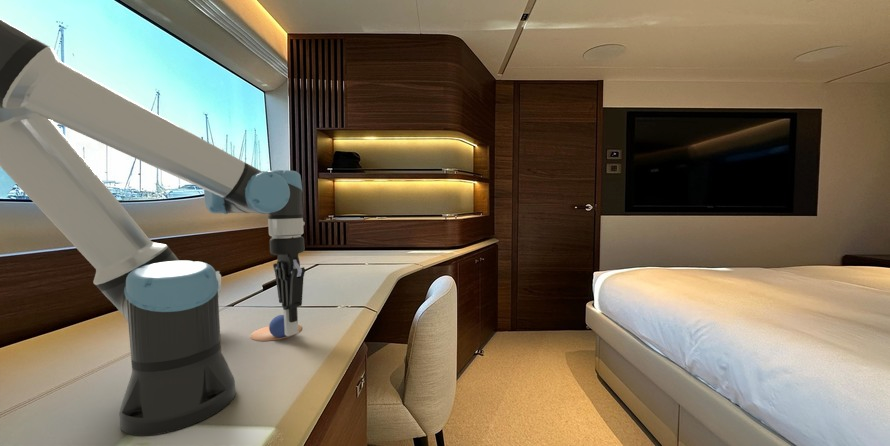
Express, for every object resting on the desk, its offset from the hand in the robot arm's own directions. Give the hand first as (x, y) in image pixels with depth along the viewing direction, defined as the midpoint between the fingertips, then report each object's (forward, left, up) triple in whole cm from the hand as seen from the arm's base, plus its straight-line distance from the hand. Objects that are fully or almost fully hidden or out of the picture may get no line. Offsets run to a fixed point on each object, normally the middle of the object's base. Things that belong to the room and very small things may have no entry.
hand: (291, 333), depth 85 cm
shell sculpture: (+17, +20, -2) cm, 26 cm away
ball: (+5, +2, +1) cm, 5 cm away
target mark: (+9, +3, -2) cm, 10 cm away
